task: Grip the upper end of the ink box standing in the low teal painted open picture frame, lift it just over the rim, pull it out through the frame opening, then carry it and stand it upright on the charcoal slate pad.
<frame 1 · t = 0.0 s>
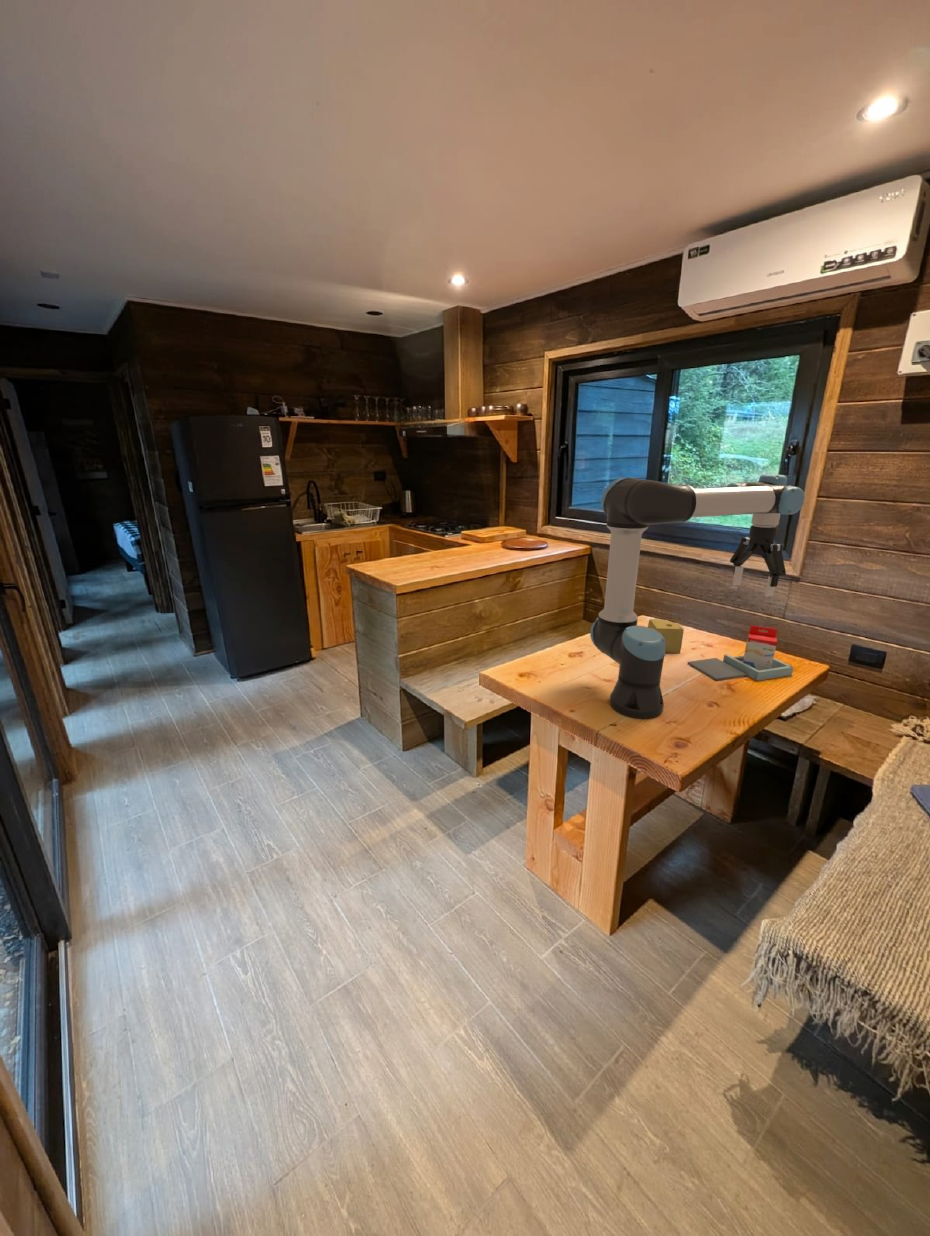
hand: (752, 590, 165), 28 cm above the table, fingers open, 13 cm apart
slate pad: (716, 669, 173), on the table
ink box: (755, 669, 174), resting in open picture frame
open picture frame: (756, 668, 174), on the table
cheese: (663, 648, 191), on the table
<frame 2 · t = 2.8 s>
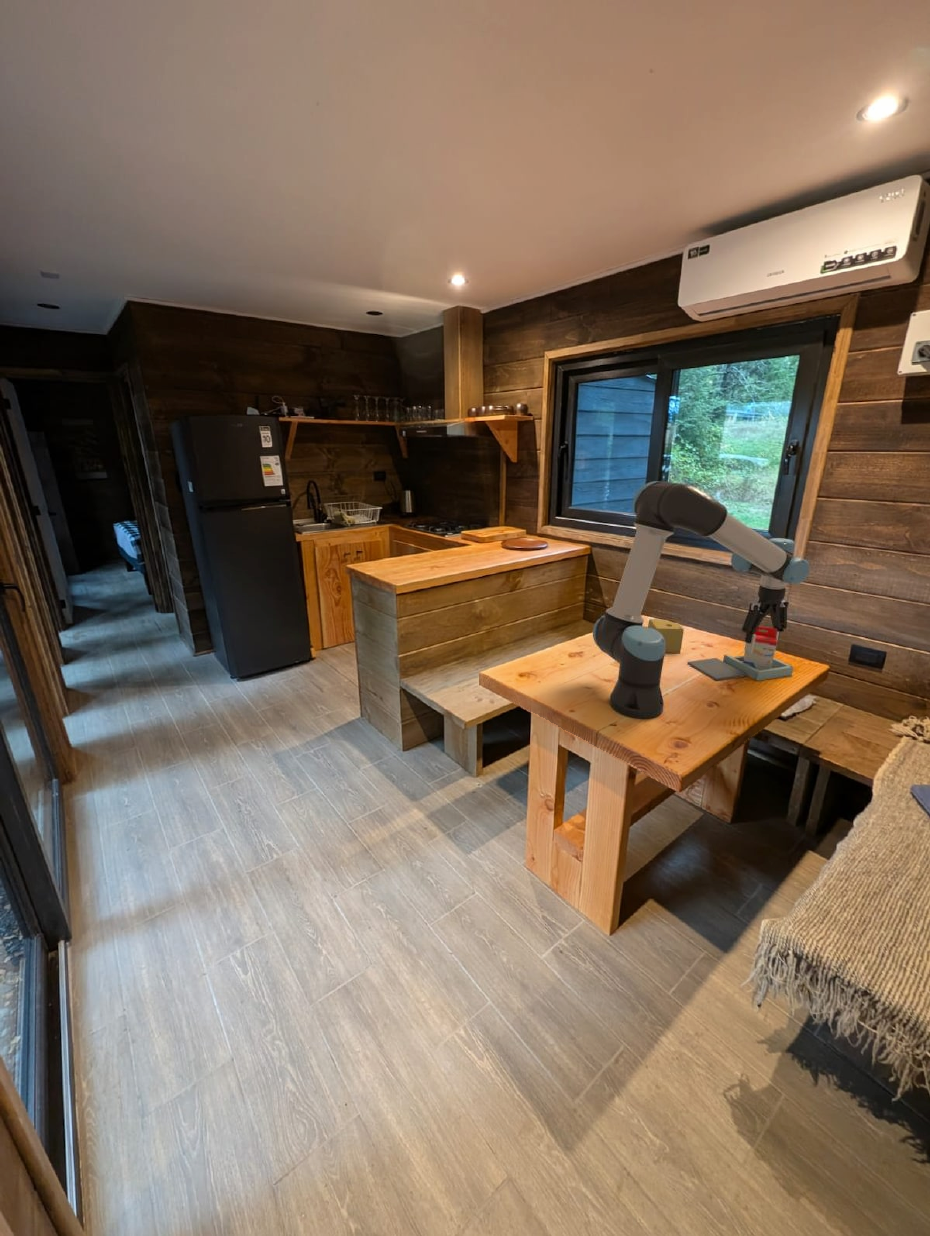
hand: (759, 649, 171), 7 cm above the table, fingers closed on ink box, 9 cm apart
ink box: (755, 669, 174), resting in open picture frame, touching gripper
everything else where it was.
when the fingers open (8 cm above the table, at t = 12.3 s): ink box stays where it is, resting on slate pad.
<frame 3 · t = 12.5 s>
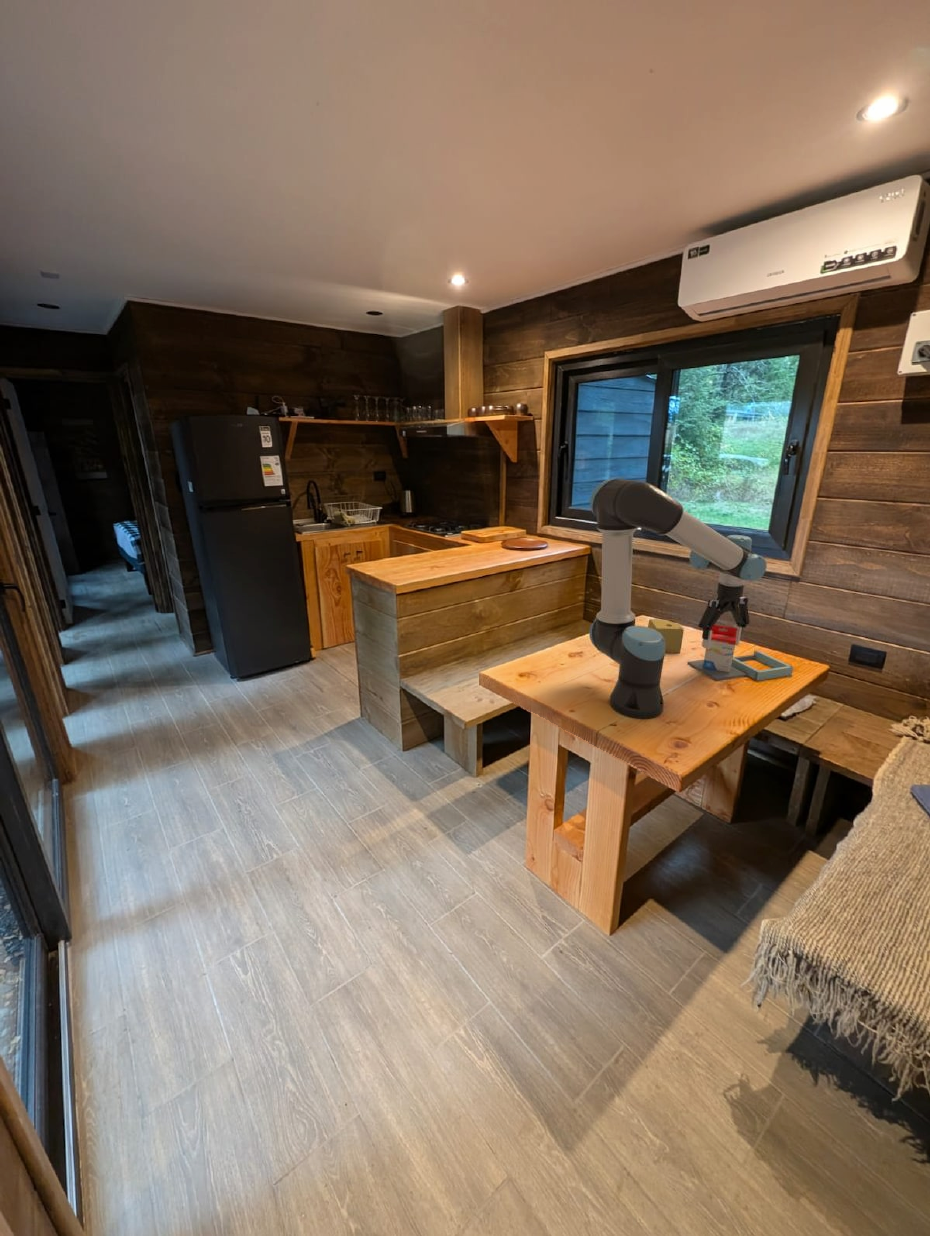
hand: (720, 646, 170), 9 cm above the table, fingers open, 11 cm apart
ink box: (716, 668, 172), point 1 cm above the table, touching slate pad
everything else where it was.
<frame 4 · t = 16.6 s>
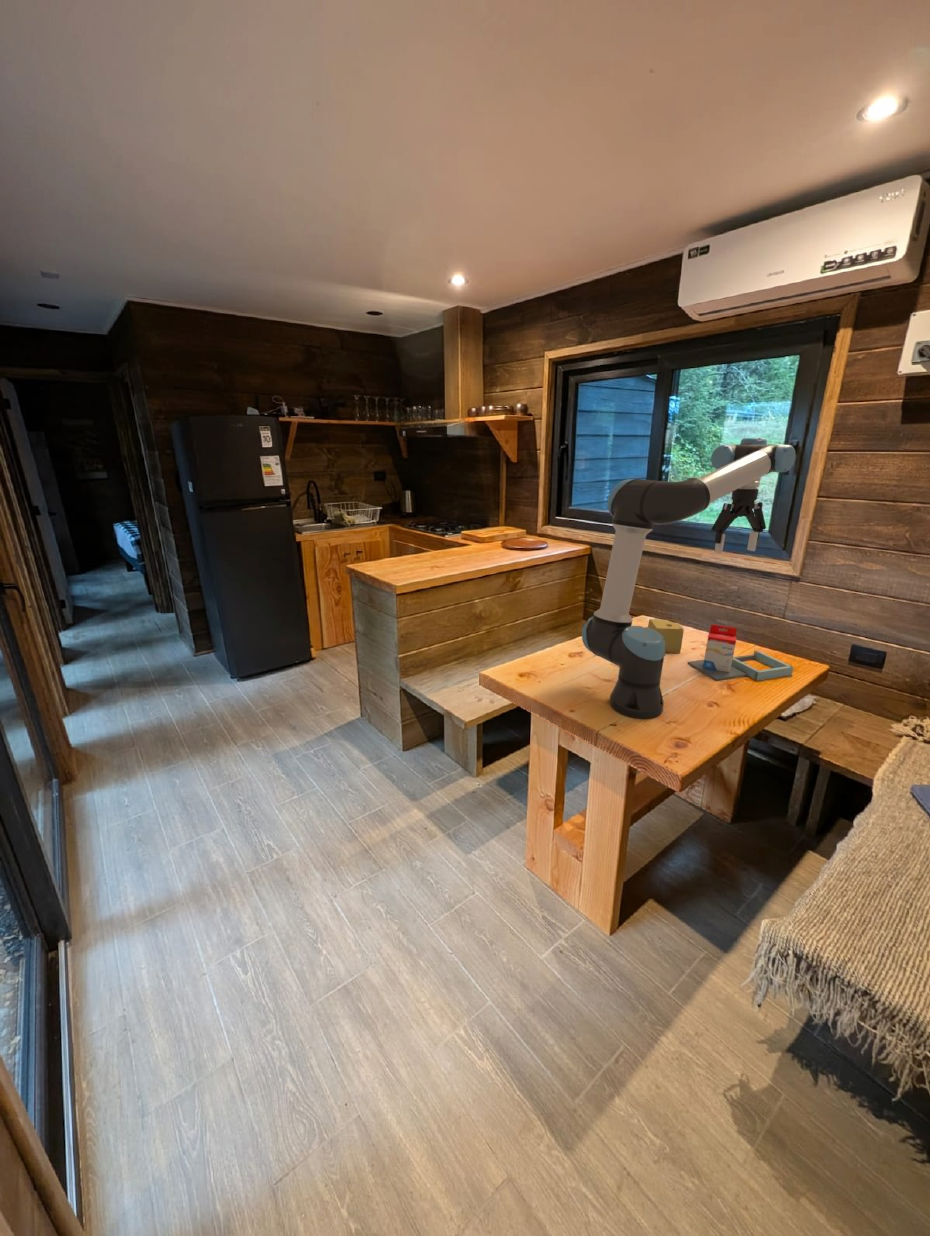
hand: (734, 551, 171), 39 cm above the table, fingers open, 13 cm apart
nothing on the table moved.
at the end: ink box inside the target area on the slate pad (0.1 cm from its centre), point 0.6 cm above the slate pad's base; ink box tilted 0°; the gripper is holding nothing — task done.
